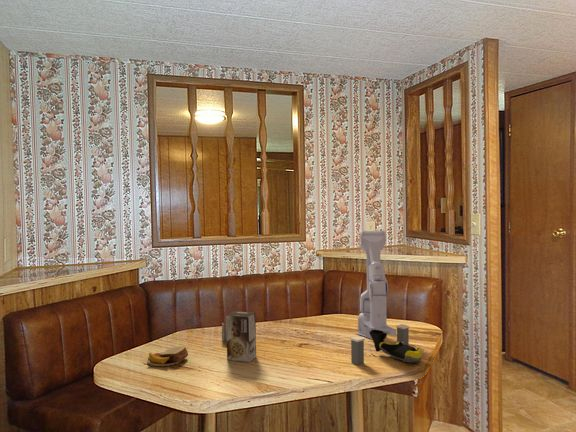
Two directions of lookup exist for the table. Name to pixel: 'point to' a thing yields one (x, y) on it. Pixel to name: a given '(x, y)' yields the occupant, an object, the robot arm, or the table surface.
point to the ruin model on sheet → (224, 333)
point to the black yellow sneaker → (401, 351)
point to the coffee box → (241, 336)
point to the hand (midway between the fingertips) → (378, 350)
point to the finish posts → (358, 342)
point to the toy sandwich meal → (168, 356)
